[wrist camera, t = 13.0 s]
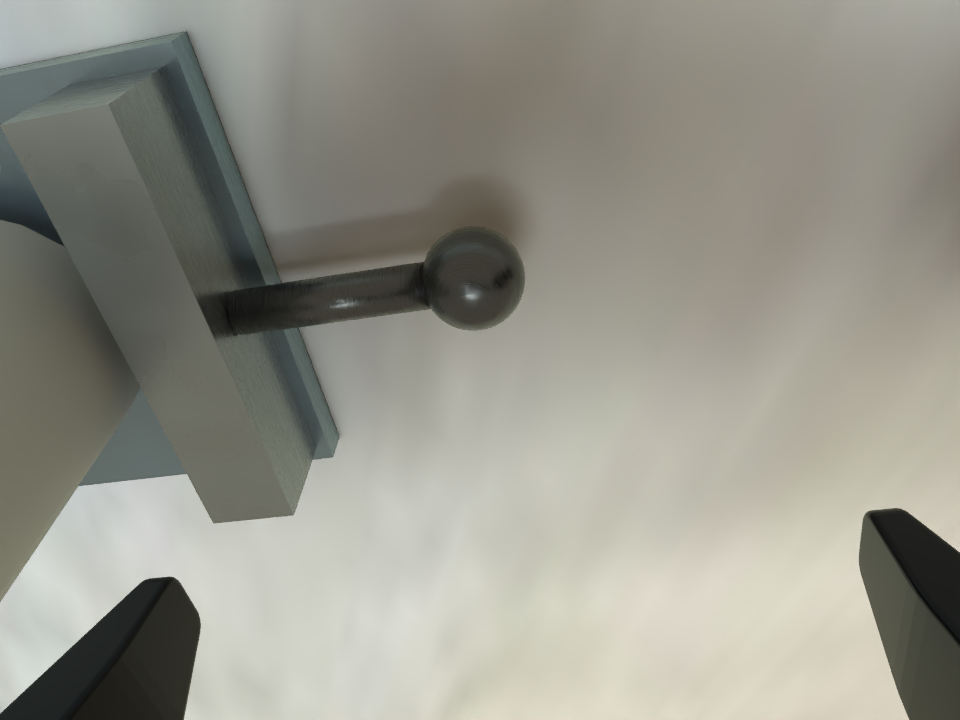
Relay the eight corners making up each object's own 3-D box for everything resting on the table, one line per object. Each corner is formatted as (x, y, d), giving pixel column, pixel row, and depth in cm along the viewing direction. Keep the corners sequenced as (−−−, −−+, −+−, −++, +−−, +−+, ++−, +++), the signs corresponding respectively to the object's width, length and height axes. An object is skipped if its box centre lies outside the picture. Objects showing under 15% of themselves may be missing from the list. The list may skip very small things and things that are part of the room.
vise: (480, -29, 18) (458, 44, 12) (556, 411, 25) (564, 587, 19) (-332, 136, 21) (-648, 254, 16) (-61, 483, 29) (-209, 652, 23)
